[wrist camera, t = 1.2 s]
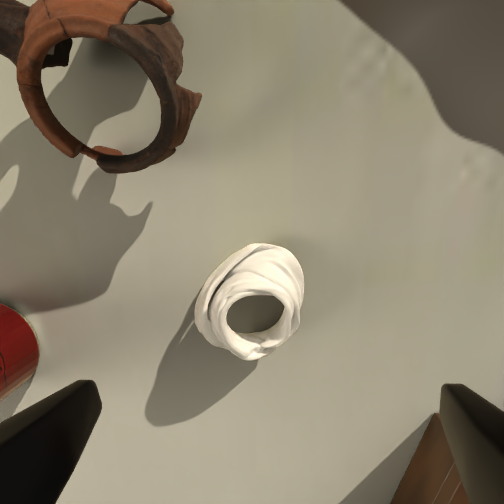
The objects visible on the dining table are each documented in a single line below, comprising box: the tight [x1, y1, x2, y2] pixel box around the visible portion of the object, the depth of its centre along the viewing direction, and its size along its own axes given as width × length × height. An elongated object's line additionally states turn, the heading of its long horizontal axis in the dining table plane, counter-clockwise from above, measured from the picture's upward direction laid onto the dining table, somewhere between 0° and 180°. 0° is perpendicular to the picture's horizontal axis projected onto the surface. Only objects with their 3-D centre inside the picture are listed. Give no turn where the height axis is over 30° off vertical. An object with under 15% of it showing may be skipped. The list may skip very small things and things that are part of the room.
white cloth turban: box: [194, 244, 304, 361], centre depth 20 cm, size 8×7×5 cm
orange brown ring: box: [0, 0, 202, 174], centre depth 18 cm, size 12×10×8 cm
